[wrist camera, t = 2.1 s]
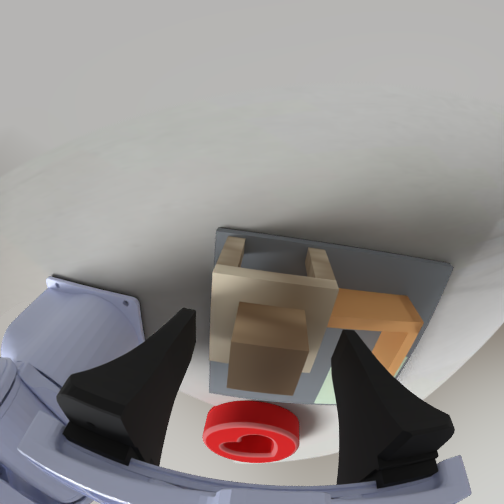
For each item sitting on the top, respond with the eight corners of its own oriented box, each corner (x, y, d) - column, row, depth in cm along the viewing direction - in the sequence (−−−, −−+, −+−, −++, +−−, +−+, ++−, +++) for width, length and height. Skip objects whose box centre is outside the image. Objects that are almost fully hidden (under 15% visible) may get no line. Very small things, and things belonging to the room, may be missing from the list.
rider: (221, 314, 18) (198, 398, 12) (228, 236, 16) (197, 308, 10) (304, 325, 18) (312, 411, 12) (325, 249, 16) (351, 328, 10)
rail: (231, 387, 22) (226, 415, 19) (244, 272, 17) (238, 300, 14) (357, 396, 21) (362, 423, 19) (410, 293, 17) (427, 319, 14)
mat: (210, 387, 23) (209, 392, 22) (218, 227, 17) (216, 231, 16) (377, 399, 22) (378, 404, 22) (449, 263, 16) (453, 267, 16)
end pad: (314, 402, 22) (314, 403, 22) (336, 354, 19) (336, 355, 19) (377, 402, 22) (377, 403, 22) (407, 356, 19) (407, 357, 19)
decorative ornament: (276, 447, 28) (275, 468, 25) (198, 428, 27) (193, 451, 24) (315, 410, 24) (317, 437, 21) (221, 388, 23) (215, 415, 20)
